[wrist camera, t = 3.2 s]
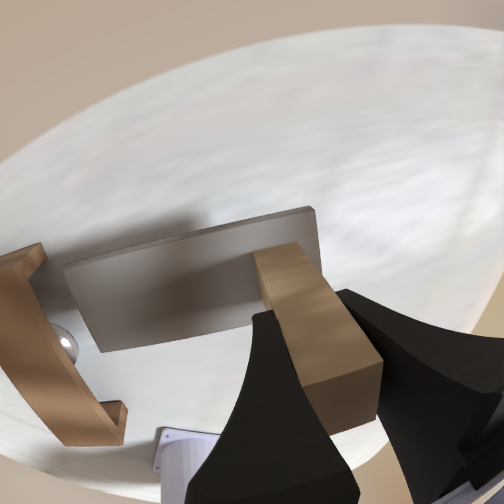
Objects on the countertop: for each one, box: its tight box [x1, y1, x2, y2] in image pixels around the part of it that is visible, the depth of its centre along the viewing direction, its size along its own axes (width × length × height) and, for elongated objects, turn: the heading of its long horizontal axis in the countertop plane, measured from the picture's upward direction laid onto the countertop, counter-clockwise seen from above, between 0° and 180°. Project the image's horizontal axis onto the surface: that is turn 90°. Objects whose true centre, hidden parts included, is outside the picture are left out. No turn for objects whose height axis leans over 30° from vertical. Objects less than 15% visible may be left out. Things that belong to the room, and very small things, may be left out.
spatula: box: [61, 206, 383, 436], centre depth 11 cm, size 12×5×9 cm, turn 101°
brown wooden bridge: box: [0, 242, 128, 447], centre depth 18 cm, size 16×6×4 cm, turn 11°
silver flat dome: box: [50, 323, 79, 365], centre depth 20 cm, size 4×4×1 cm
